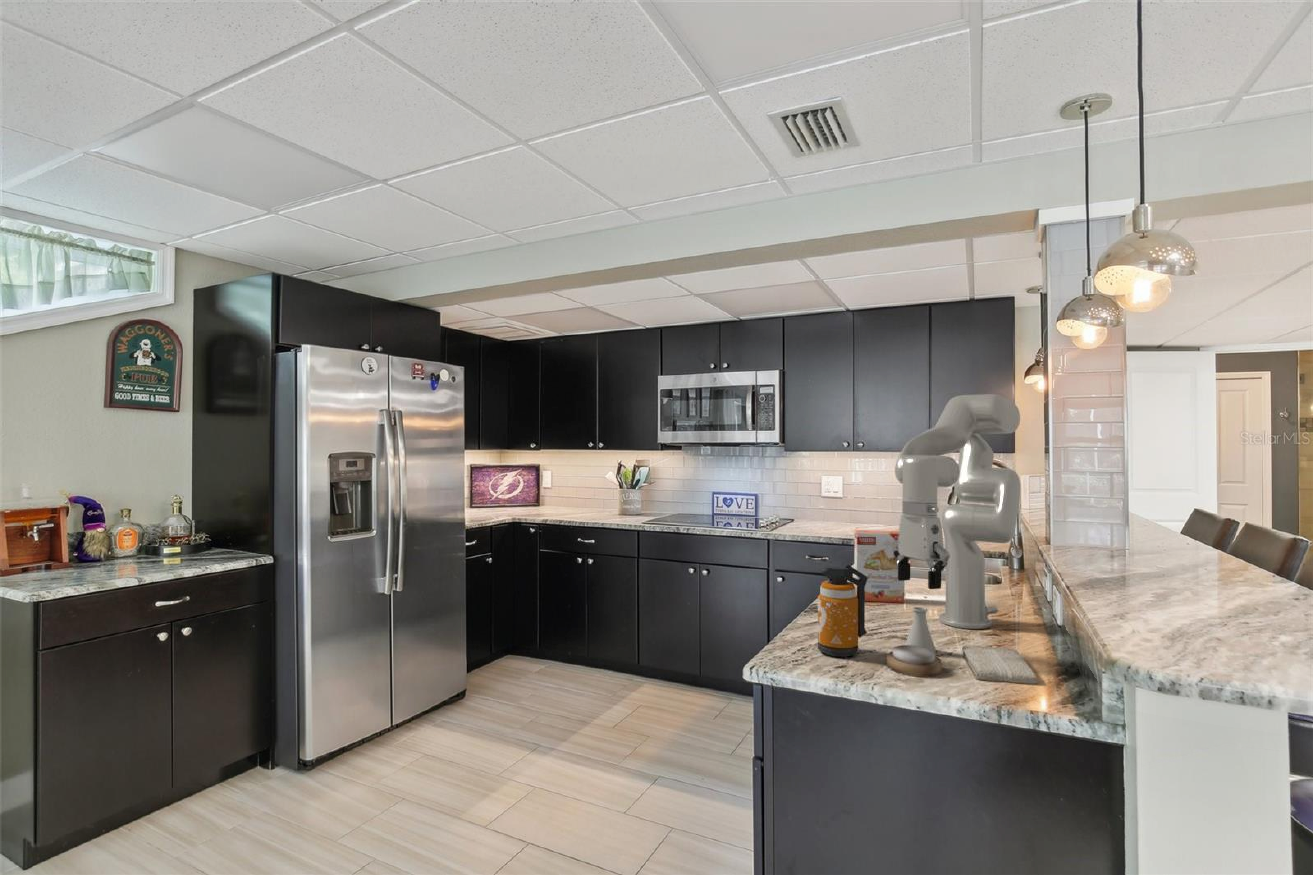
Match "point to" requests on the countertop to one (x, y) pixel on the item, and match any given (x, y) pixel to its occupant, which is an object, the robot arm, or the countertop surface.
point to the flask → (920, 630)
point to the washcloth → (998, 665)
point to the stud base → (914, 668)
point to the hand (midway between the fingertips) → (918, 584)
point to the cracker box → (878, 565)
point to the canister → (841, 611)
